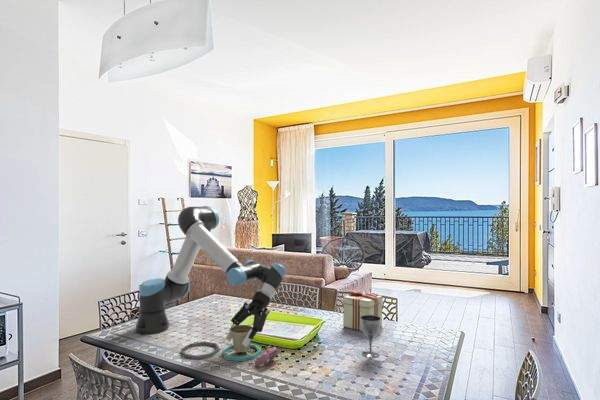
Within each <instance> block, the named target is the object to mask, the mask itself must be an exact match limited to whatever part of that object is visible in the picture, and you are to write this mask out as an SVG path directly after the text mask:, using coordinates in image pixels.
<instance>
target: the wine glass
mask: <svg viewBox="0 0 600 400" xmlns="http://www.w3.org/2000/svg"><path fill="white" fill-rule="evenodd" d="M380 323H381V319H380V317H378V316H375V315H363V316H361V328H362V331H361V332H362V333H363V334H364V336H366V338H367V340H368V343H369V344H368V345H369V350H364V351H363V352H361V355H362V357H364V358H366V359H367V358H368V359H376V358H377V359H378V358H379V357H380V353H378V352H377V351H375V350H372V347H373V341H374V339H375V337H376V336H377V335H378V334H379V333H380V329H381V326H380Z"/></svg>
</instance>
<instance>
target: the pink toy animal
mask: <svg viewBox="0 0 600 400" xmlns="http://www.w3.org/2000/svg"><path fill="white" fill-rule="evenodd" d="M279 353H280V349H279V348H277V347H275V346H273V347H269V348H267V349H266V350H265V351H264V352H263V353H262V354H261V355H260V356H259V357H258V358H257V359H255V361H254V365H255V366H256V367H260V366H263V365H264V366H267V365H268V364H269V363H272V362H273V361H274V359H275V358H276V357H277V356H278V355H279Z"/></svg>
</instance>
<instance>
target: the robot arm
mask: <svg viewBox="0 0 600 400" xmlns="http://www.w3.org/2000/svg"><path fill="white" fill-rule="evenodd" d="M177 223H178V226H179V229H180V230H181V232H182V234H184V236H185V237H184V241H183V242H182V244H181V245H182V246H181V248H180V251H179V253H178V254H177V258H176V260H175V263H174V265H173V267H172V269H171V270H169V271H167V273H166V276H165V278H162V277H159V278H156V277H155V278H151V279H147V280H145V281H143V282H141V284H140V285H139V291H138V293H139V314H138V319H137V321H136V324H135V332H136V333H138V334H142V335H143V334H144V335H150V334H158V333H162V332H164V331H166V330H168V329H169V327H170V322H169V319H168V315H167V313H166V304H168V303H171V302H175V301H178V300H181V299H183V298H185V297H186V296H187V295H188V293H189V292H190V291H191V290H190V289H191V285H190V284H191V282H190V277H189V274H190V272H191V270H192V268H193V265H194V263H195V261H196V258H197V255H198V253H199V252H200V250H201V249H202V250H203V251H204V252H205V254H207V256H208V257H209V258H210V259H211V260H212V261H214V263H215V264H217V266H218V267H219V268H220V269H222V271H223V272H224V273H225V274H226V280H227V282H228V284H229V285H230V286H233V287H238V286H242V285H244V284H246V283H249V282H252V281H255V280H257V281H259V282H261V283H260V285H259V286H258V288H257V289H256V291H255V293H254V295H253V296H252V298H251V301H250V303H248V302H246V301H245V302H244V303H243V305H242V306H241V307H240V308H239V309H238V311H237V312H236V313H235V315H233V317H232V318H231V319H230V321H231V323H232V324H231V326H230V328H229V330H228V332H227V334H226V336H225V339H226V340H227V341H228V342H231V341H232V340H233V338H232V334H231V331H230V329H231V328H232V327H234V326H237V325H241V324H242V323H243V322H244V321H245V320H246V319H247V318H249V317H251V316H254V317H253V324H252V327H253V328H252V329H253V330H252V329H250V331H249V332H248V334H247V336H246V337H245V339H244V341H243V343H242V344H243V345H244V346H245V347H247V346H248V344H249V343H250V344H251V342H252V340H253V339H254V337H255V336H256V335H257V333H262V332H263V328H264V326H265V323H266V321H267V317H268V315H269V314H270V309H268V306H269V304H270V303H271V300H272V299H273V297H274V296H275V294H276V292H277V291H278V288H279V287H280V285H281V283H282V282H283V280H284V279H285V276H286V274H287V269H286V268H285V267H284V266H283V265H282V264H280V263H274V262H273V264H272V265H270V266H268V265H267V264H263V263H260V262H258V261H257V260H252V259H248V260H246V261H245V262H244V263H241V262H240V261H239V260H238V259H237V258H236V257H235V256H234V255H233V254H232V253H231V252H230V251H229V250H228V249H227V248H226V247H225V246H224V244H222V243H221V242H220V241H219V240H218V239H217V238H216V237H215V236H214V235H213V234H212V233H211V231H212V230H214V229H215V228H217V227H218V225H219V223H220V216H219V213H218V211H217V210H216V209H215V208H214V207H212V206H207V205H203V206H187V207H185V208H184V209H182V210H181V211H180V213H179V215H178V217H177Z"/></svg>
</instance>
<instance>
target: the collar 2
mask: <svg viewBox="0 0 600 400" xmlns="http://www.w3.org/2000/svg"><path fill="white" fill-rule="evenodd" d="M251 347H252V349H255V350H256V352H255V353H254V354H251V355H246V356H240V357H239V356H232V355H228V354H227V352H229V351H230V350H232V349H234V345H233V344H229V345H228V346H227V347H225V348H224V349H223V350H222V351H221V352H222V355H223V357H224V358H225V360H228V361H235V362H243V361H248V360H249V361H250V360H256V359H255V358H257V357H258V356H259V355H260V354H261V353H262V349H261V348H260V347H259V346H258V345H257V344H256V343H255V344H253V343H250V347H249V348H251Z"/></svg>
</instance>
